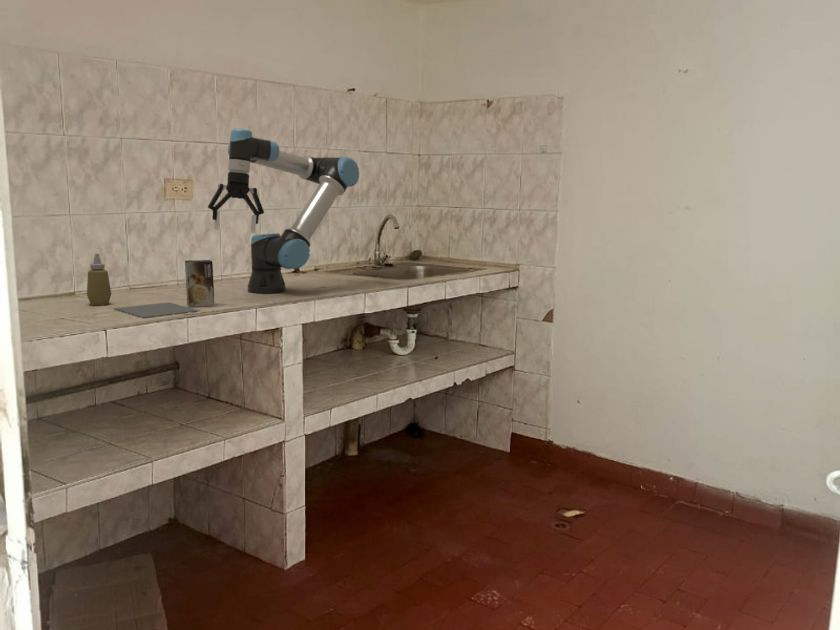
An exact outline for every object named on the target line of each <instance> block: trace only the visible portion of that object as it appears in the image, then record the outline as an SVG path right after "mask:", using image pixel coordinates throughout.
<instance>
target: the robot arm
mask: <svg viewBox="0 0 840 630" xmlns="http://www.w3.org/2000/svg"><path fill="white" fill-rule="evenodd" d="M227 153H228V166H227V167H228V169H227V170H228V171H229V172H228V173H227V183H226V184H223V183H219V184H218V185H217V190H216V192H215V193H214V195H213V197H212V198H211V200H210V202H209V204H208V205H207V208H208V210H209V209H210V210H212V217H211V219H212V220H213V221H214V227H213V228H214V230H219V228H220V226H219V225H220V215H221V214H220V211H218V210H219V209H220V208H221V207H222V206H223V205H224V204H225V203H226V202H228V201H229V199H240V200H242V199H243V200H244V201H245V203H246V204H247V206H248V207H249V208H250V211H252V215H251V223H250V224H251V225H250V233H252V234H254V235H252V236H251V239H250V249H251V250H250V252H251V253H250V254H251V255H250V258H251V274H250V277H249V281H248V284H247V292H249V293H255V294H278V293H283V292H286V291H287V290H286V287H287V286H286V283H285V280H284V277H283V274H282V269H283V268H284V269H285V270H286V269H287V270H297V269H300V268H301V267H303V266H305V265H306V264H307V262H308V261H309V258H310V252H311V250H310V249H311V248H310V246H311V242H310V240H311V239H312V236H313V235H314V233H315V232H316V230H317V229H318V227H319V226H320V224H321V223H322V221H323V220H324V218H325V217H326V215H327V214H328V212H329V210H330V208H331V207H332V205H333V204H334V202H335V200H336V199H337V197H338V196H342V195H344V194H345V192H346V190H347V189H348V188H349V187H354V186H356V184H358V181H359V179H360V171H359V166H358V163H357V162H356V161H355V160H354V159H353V158H352V157H346V156H341V157H313V156H309V155H305V156H300V155H297V154H292V153H290V152H286V151H282V150H280V146H279V144H278V143H277V142H276V141H272V140H271V139H270V140H269V139H268V140H267V139H263V138H258V137H254V136H253V132H252V130H251V129H250V130H249V129H245V128H233V129H231V131H230V139H229V144H228V147H227ZM251 163H252V164H255V165H260V166H263V167H267V168H271V169H275V170H278V171H281V172H286V173H288V174H293V175H297V176H298V177H299V178H300V179H302V180H305V181H308V182H311V183H315V184H319V185H318V186H317V188H315V190H314V192H313V194H312V196H310V198H309V200H308V201H307V203H306V204H305V206H304V208H303V209H302V211H301V212H300V214H299V215H298V217H297V218H296V219H295V221H294V223H293V224H292V226H291V227H289V228H285V229H284V231H283V232H282V234H280V233H264V234H255V233H256V225H258V224H259V217H260V216H261V215H263V214H264V213H265V210H264V208H263V206H262V205H263V204H262V203H261V200H260V197H259V195H258V189H257V187H251V188H250V187H249V185H250V175H249V173H250V171H251V168H250V167H251ZM225 190H226V192H227V193H226V194H224V196H223V197H222V199H220V200H219V201H218V199H219V198H220V196H221V195H222V193H223V191H225ZM249 193H250V194H251V196H252V199H253V200H254V203H255V204H254V203H253V202H252V200H251V199H250V196H249V195H248V194H249ZM217 201H218V202H217ZM216 203H217V204H216Z"/></svg>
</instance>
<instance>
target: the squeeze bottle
mask: <svg viewBox="0 0 840 630" xmlns="http://www.w3.org/2000/svg"><path fill="white" fill-rule="evenodd" d="M89 265H90V270H88V271H87V285H86V287H87V288H86V296H87V299H88V301H89V304H90V305H91V306H105V305H106V306H107V305H109V304H110V300H111V296H112V290H111V285H110V284H111V283H110V278H109V272H108V270H106V269H105V268H106V266H105V263H102V261H101V258H100V254H99V253H94V258H93V263H91V264H89Z"/></svg>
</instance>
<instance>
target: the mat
mask: <svg viewBox="0 0 840 630" xmlns="http://www.w3.org/2000/svg"><path fill="white" fill-rule="evenodd" d="M114 309H115V311H118V312H121V313H124V312H125V313H124V314H127V313H128V315H130V314H132V315H131V316H134V315H135V316H134V317H137V316H138V317H137V318H140V317H142V318H141V319H148V318H147V317H151V318H156V317H155V316H159V317H164V316H163V315H167V316H173V315H172V314H175V315H180V314H179V313H184V314H189V313H188V312H192V313H198V312H197V311H201V310H200V309H196V308H193V307H188V306H184V305H181V304H176V303H173V302H168V301H167V302H161V303H151V304H141V305H132V306H131V305H130V306H123V307H114V308H113V310H114Z"/></svg>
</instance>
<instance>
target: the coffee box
mask: <svg viewBox="0 0 840 630" xmlns="http://www.w3.org/2000/svg"><path fill="white" fill-rule="evenodd" d="M213 266H214V263H213V261H212V260H210V259H200V260H199V259H198V260H197V259H195V260H193V259H191V260H184V271H185V288H186V289H185V291H186V293H185V294H186V305H187V307H188V308H199V307H200V308H201V307H203V308H204V307H215V287H214V285H215V284H214V282H215V281H214V268H213Z"/></svg>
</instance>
